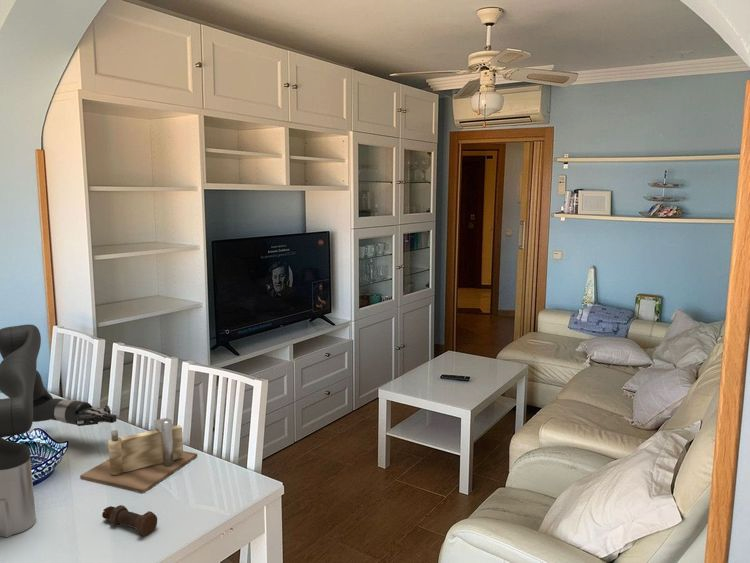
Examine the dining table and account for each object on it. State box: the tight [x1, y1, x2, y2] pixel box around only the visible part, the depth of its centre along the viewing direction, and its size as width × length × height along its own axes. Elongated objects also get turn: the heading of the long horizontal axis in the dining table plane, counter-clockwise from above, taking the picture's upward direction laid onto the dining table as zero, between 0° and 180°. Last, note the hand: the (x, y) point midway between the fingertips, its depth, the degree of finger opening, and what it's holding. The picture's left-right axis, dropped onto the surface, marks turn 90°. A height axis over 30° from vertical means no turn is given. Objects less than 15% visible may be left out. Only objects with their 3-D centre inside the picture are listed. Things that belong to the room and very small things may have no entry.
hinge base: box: [79, 429, 198, 494], centre depth 177 cm, size 24×23×14 cm
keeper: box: [153, 417, 174, 467], centre depth 178 cm, size 4×8×14 cm, turn 35°
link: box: [107, 424, 184, 475], centre depth 176 cm, size 21×4×10 cm, turn 124°
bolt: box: [101, 504, 158, 537], centre depth 147 cm, size 6×5×15 cm
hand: (114, 419), depth 185 cm, fingers closed
